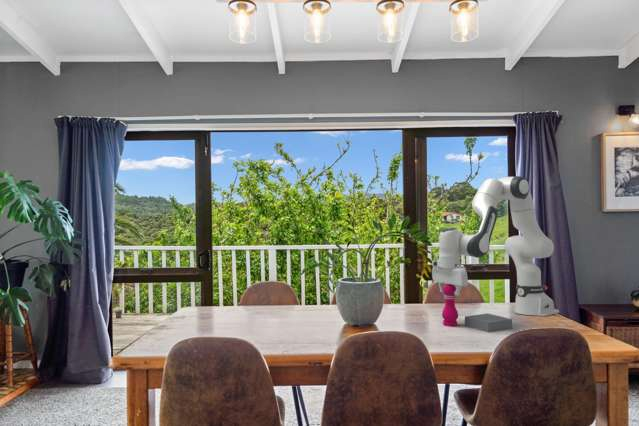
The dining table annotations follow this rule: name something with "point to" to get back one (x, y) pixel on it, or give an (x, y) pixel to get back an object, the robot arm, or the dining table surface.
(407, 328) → the dining table surface
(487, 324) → the riser
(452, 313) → the pepper mill
